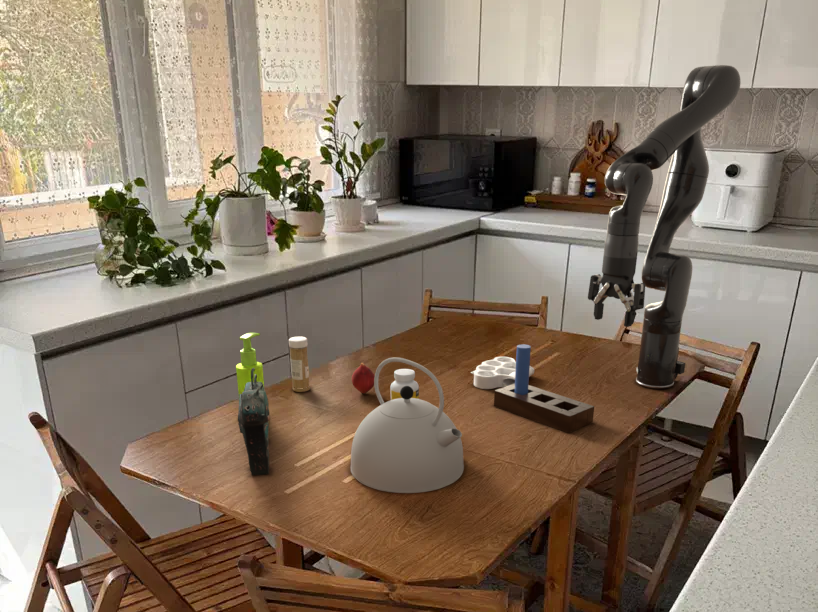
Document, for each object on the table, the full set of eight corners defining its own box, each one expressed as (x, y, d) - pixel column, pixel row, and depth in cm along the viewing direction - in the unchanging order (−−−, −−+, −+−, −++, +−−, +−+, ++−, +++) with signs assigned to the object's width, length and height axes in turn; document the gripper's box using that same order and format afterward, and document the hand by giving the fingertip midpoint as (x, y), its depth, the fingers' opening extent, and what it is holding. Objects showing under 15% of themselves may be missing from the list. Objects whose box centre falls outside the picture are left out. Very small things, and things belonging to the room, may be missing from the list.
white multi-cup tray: (514, 394, 195) (460, 385, 201) (538, 373, 209) (487, 365, 216) (514, 381, 193) (460, 373, 200) (538, 361, 208) (487, 353, 214)
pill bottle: (416, 426, 176) (415, 377, 172) (388, 424, 177) (387, 375, 173) (421, 415, 182) (421, 368, 178) (394, 413, 183) (393, 366, 179)
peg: (519, 403, 189) (523, 343, 183) (529, 406, 187) (533, 346, 181) (510, 406, 187) (514, 346, 181) (521, 410, 185) (524, 349, 179)
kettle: (495, 468, 156) (500, 360, 147) (419, 509, 141) (419, 391, 132) (404, 435, 172) (404, 335, 163) (327, 468, 157) (321, 360, 148)
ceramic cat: (274, 477, 153) (266, 381, 145) (240, 480, 152) (230, 383, 144) (273, 437, 171) (266, 349, 163) (243, 439, 170) (235, 351, 162)
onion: (380, 392, 197) (379, 361, 194) (366, 399, 192) (365, 368, 189) (361, 387, 200) (360, 358, 196) (347, 394, 195) (346, 364, 192)
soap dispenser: (274, 415, 183) (267, 332, 175) (257, 425, 177) (249, 340, 169) (253, 411, 185) (246, 329, 177) (235, 421, 179) (227, 337, 171)
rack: (518, 397, 193) (519, 381, 191) (592, 422, 178) (594, 406, 176) (493, 406, 188) (494, 390, 186) (568, 433, 172) (569, 416, 171)
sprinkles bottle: (313, 389, 199) (310, 338, 193) (299, 393, 196) (295, 342, 190) (302, 385, 202) (299, 334, 196) (288, 389, 199) (284, 338, 193)
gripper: (656, 256, 177) (647, 326, 183) (605, 247, 187) (598, 314, 193) (636, 260, 172) (628, 331, 179) (585, 251, 183) (579, 319, 189)
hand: (612, 322), depth 186 cm, fingers open, 8 cm apart
